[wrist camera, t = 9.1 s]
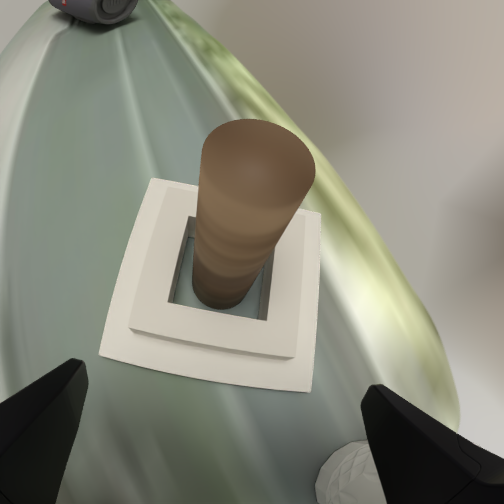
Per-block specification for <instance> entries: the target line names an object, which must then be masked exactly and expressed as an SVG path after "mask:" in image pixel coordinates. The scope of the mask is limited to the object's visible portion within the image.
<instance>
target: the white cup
mask: <svg viewBox="0 0 504 504" xmlns="http://www.w3.org/2000/svg"><path fill="white" fill-rule="evenodd" d="M474 444H475V443H474ZM475 445H477V444H475ZM477 446H479V445H477ZM479 447H481V446H479ZM315 491H316V497H317V502H318V503H319V504H387V502H386V499H385V496H384V492H383V489H382V486H381V482H380V479H379V476H378V473H377V470H376V466H375V463H374V460H373V457H372V454H371V451H370V447H369V444H368V440H363V441H356V442H350V443H349V444H347V445H345V446H344V447H342V448H340V449H338V450H337V451H335V452H334V453H333V454H332V455H331V456H330V457H329V459H328V460H327V461H326V462H325V463H324V465H323V466H322V467H321V469H320V472H319V475H318V478H317V480H316V483H315Z"/></svg>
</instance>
